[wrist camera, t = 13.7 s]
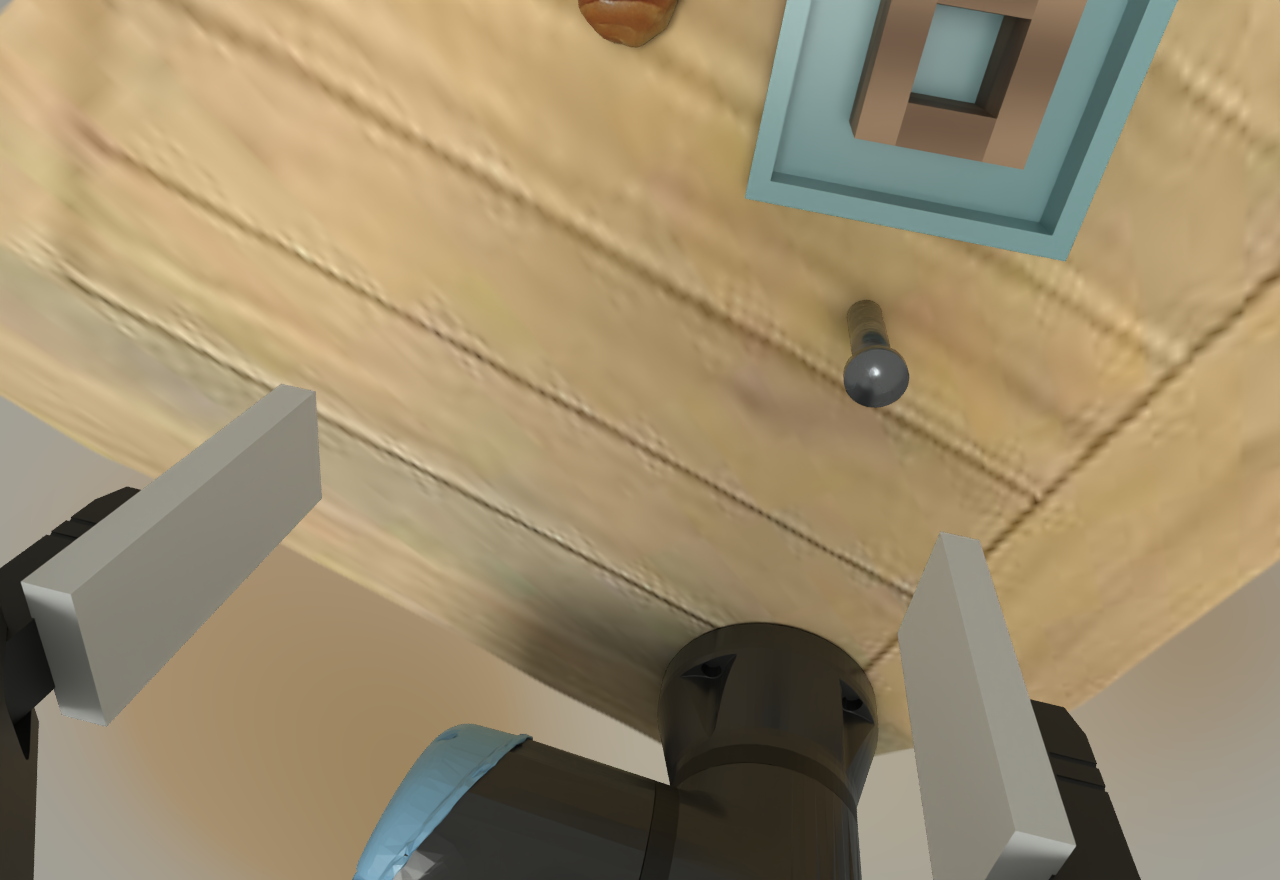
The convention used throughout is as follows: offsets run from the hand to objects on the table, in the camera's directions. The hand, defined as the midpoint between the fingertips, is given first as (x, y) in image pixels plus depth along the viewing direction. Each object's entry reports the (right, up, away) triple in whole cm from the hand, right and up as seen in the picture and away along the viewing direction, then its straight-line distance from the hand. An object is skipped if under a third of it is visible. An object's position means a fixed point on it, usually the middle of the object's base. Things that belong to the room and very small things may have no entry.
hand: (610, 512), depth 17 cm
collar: (+14, +19, +19) cm, 31 cm away
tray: (+15, +19, +20) cm, 31 cm away
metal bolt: (+13, +8, +26) cm, 30 cm away
